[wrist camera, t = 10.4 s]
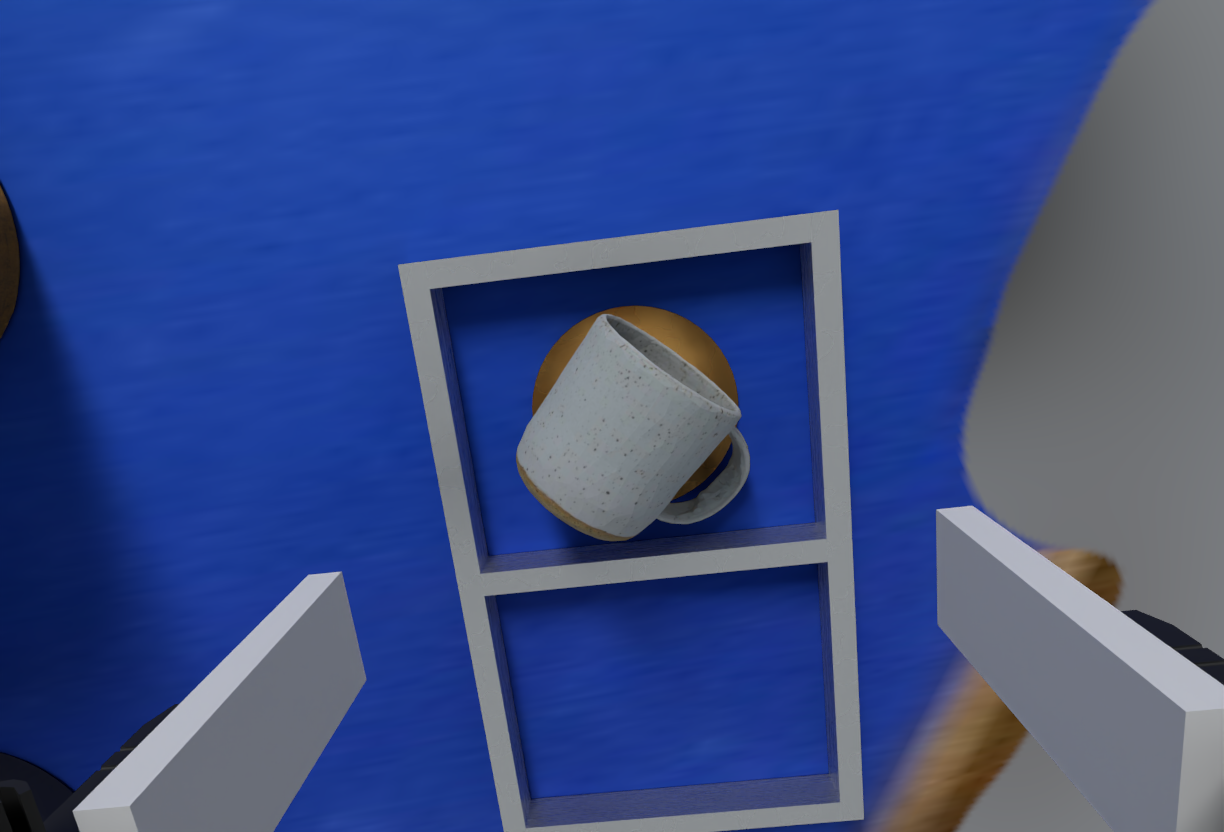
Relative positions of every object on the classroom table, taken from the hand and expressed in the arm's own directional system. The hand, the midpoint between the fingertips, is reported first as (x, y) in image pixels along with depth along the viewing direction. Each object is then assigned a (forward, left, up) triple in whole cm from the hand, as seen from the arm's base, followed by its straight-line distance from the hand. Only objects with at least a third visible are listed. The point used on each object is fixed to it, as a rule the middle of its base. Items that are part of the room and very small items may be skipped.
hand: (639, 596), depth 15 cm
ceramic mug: (+1, -1, -19) cm, 19 cm away
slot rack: (0, -7, -19) cm, 20 cm away
